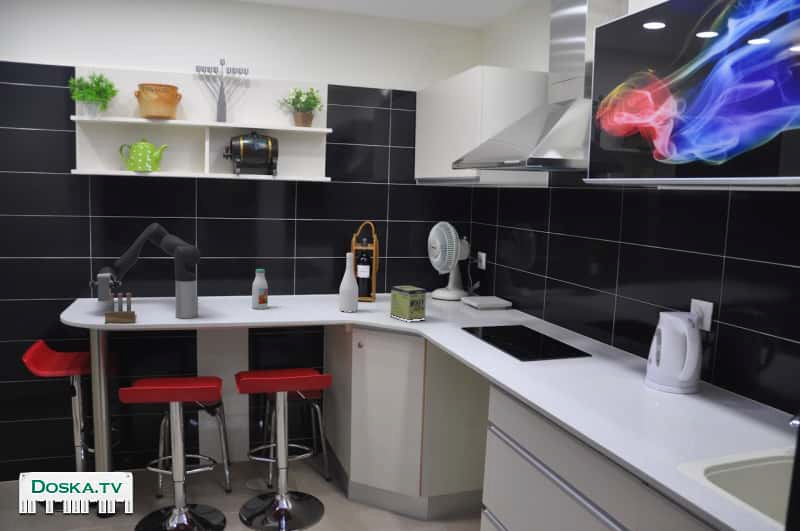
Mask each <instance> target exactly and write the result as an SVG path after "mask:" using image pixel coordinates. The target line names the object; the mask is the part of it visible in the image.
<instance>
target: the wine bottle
mask: <svg viewBox="0 0 800 531" xmlns="http://www.w3.org/2000/svg"><path fill="white" fill-rule="evenodd" d="M345 265H346V267H345V271H344V275H343V278H342V280H341V283H340V286H339V294H338V295H339V300H338V303H339V304H338V305H339V306H338V310H339V312H341V311H345V312H344V313H346V312H349V311H356V310H357V311H358V310H359V285H358V282H357V279H356V276H355V272H354V253H353V252H347V253H346V264H345ZM357 311H356V312H357Z"/></svg>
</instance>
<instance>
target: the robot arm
mask: <svg viewBox="0 0 800 531" xmlns="http://www.w3.org/2000/svg"><path fill="white" fill-rule="evenodd" d="M147 240H148V241H150V242H151V243H152V245H155V246H156V247H158V248H161V249H162V250H163V251H164V252H165V253H166V254H168V255H170V256H172V257H173V258H174V260H173V262H174V274H175V318H178V319H194V318H196V317H199V296H198V295H197V274H196V273H193V272H189V271H187V270H186V269H185V267H189V266H190V267H191V266H196V265H198V264H199V263H200V262H201V258H202V256H201V255H202V254H201V251H200V250H199V248H198V247H197V246H195V245H193V244H191V243H190V244H189V243H188V242H185V241H184V240H182V239H181V238H180V237H178V236H177V235H174V234H170V232H169V231H167V230H166V229H165V228H164V227H163V226H161V224H159V223H158V222H153V223H151V224H150V225H148V226H147V227H146V228H145V230H143V231H142V233H141V234H140V235H139V236H138V238H136V240H135V241H134V242H133V243H132V245H131V246H130V247H129V249H128V250H126V252H124V253H123V254H122V256H120V257H119V258H118V259H117V260H116V261H115V262H114V266H115V267H116V269H117V271H118V273H117V272H116V271H115V270H114V269H112V268H111V267H109V266H105V267H103V268H102V269H100V270H99V272H98V274H110V284H109V288H111V289H113V288H119V287H121V286H122V278H123V277H124V275H125V274H126V272H128V271H129V269H131V267H133V266H134V265H135V264H136V263H137V262H138V260H139V257H140V253H141V250H142V248H143V245H144V244H145V242H146V241H147ZM89 287H90V288H92V289H94V288H95V289H97V290H98V280H96V281H94V280H90V281H89Z"/></svg>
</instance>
